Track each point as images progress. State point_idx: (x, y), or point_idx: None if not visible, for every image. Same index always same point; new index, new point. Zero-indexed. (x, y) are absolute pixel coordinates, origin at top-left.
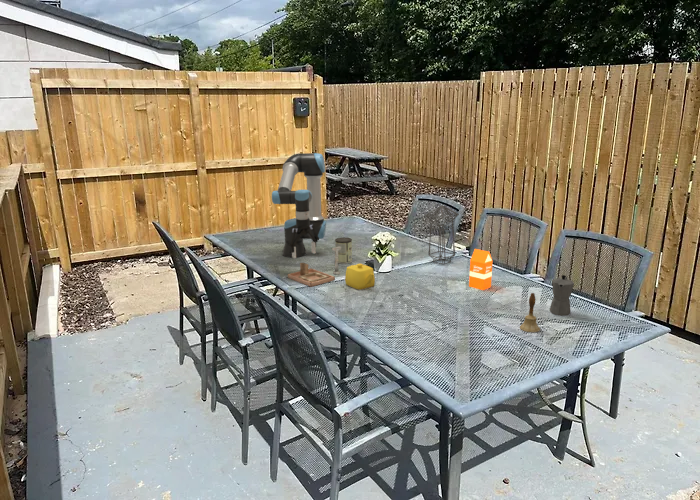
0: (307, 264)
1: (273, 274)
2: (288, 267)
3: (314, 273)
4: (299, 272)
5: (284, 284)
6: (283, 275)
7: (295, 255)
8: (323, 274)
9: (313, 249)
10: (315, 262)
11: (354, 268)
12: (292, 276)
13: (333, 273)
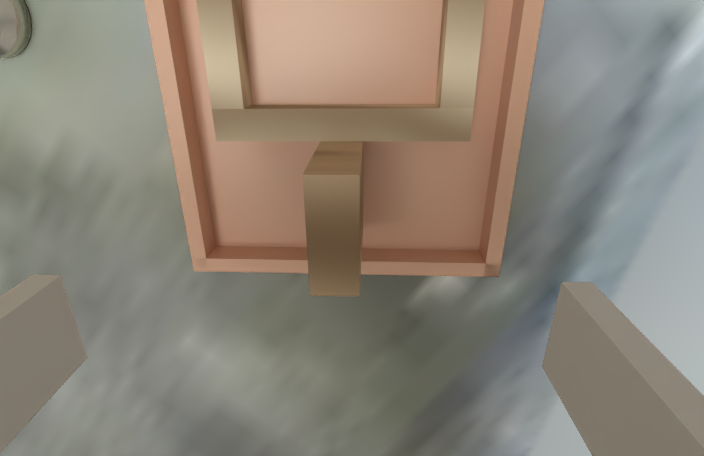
0: (317, 175)
1: (506, 394)
2: (303, 442)
3: (254, 108)
4: None
5: (678, 106)
6: (468, 328)
7: (610, 320)
8: (171, 17)
9: (3, 364)
10: (56, 408)
11: None
12: (511, 190)
13: (28, 29)
